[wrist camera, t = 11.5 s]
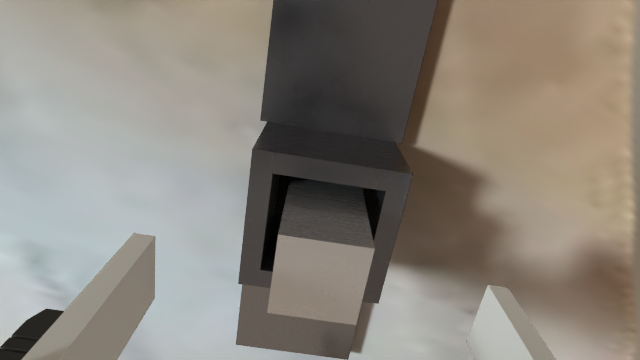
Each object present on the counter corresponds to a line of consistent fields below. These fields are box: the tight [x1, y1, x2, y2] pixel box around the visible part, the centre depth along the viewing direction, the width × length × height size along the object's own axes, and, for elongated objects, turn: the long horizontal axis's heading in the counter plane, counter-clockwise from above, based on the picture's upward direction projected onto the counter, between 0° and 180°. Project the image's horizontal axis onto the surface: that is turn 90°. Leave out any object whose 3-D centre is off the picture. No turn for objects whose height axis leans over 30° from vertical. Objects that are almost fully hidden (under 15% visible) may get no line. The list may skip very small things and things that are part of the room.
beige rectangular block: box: [267, 176, 375, 325], centre depth 20 cm, size 4×4×10 cm
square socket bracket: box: [236, 0, 437, 360], centre depth 22 cm, size 25×8×6 cm, turn 171°
